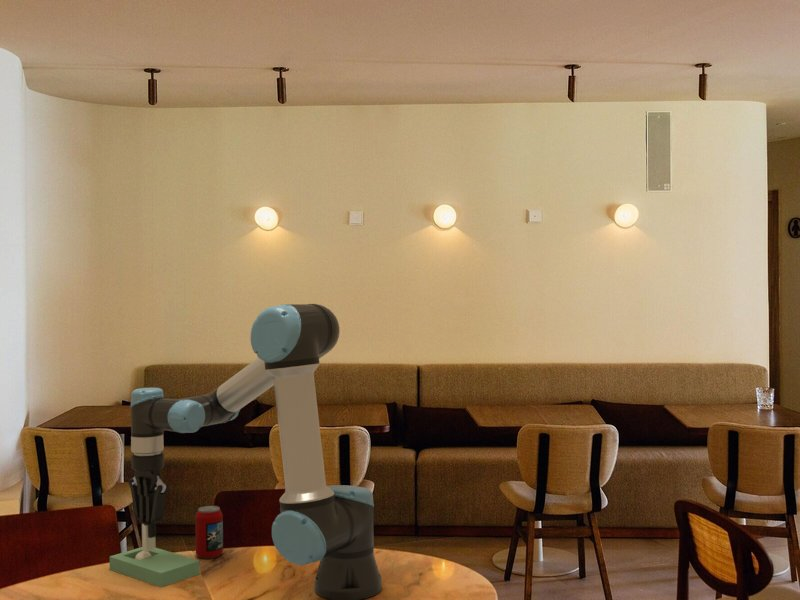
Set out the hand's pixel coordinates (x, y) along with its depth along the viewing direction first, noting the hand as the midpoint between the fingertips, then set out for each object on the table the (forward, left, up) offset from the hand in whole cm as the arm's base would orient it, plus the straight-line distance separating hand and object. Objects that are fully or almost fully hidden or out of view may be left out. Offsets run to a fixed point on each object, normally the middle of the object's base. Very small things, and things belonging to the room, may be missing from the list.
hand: (148, 549), depth 205 cm
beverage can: (-3, -16, -5) cm, 17 cm away
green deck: (-2, 0, -5) cm, 5 cm away
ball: (+2, 0, -3) cm, 3 cm away
